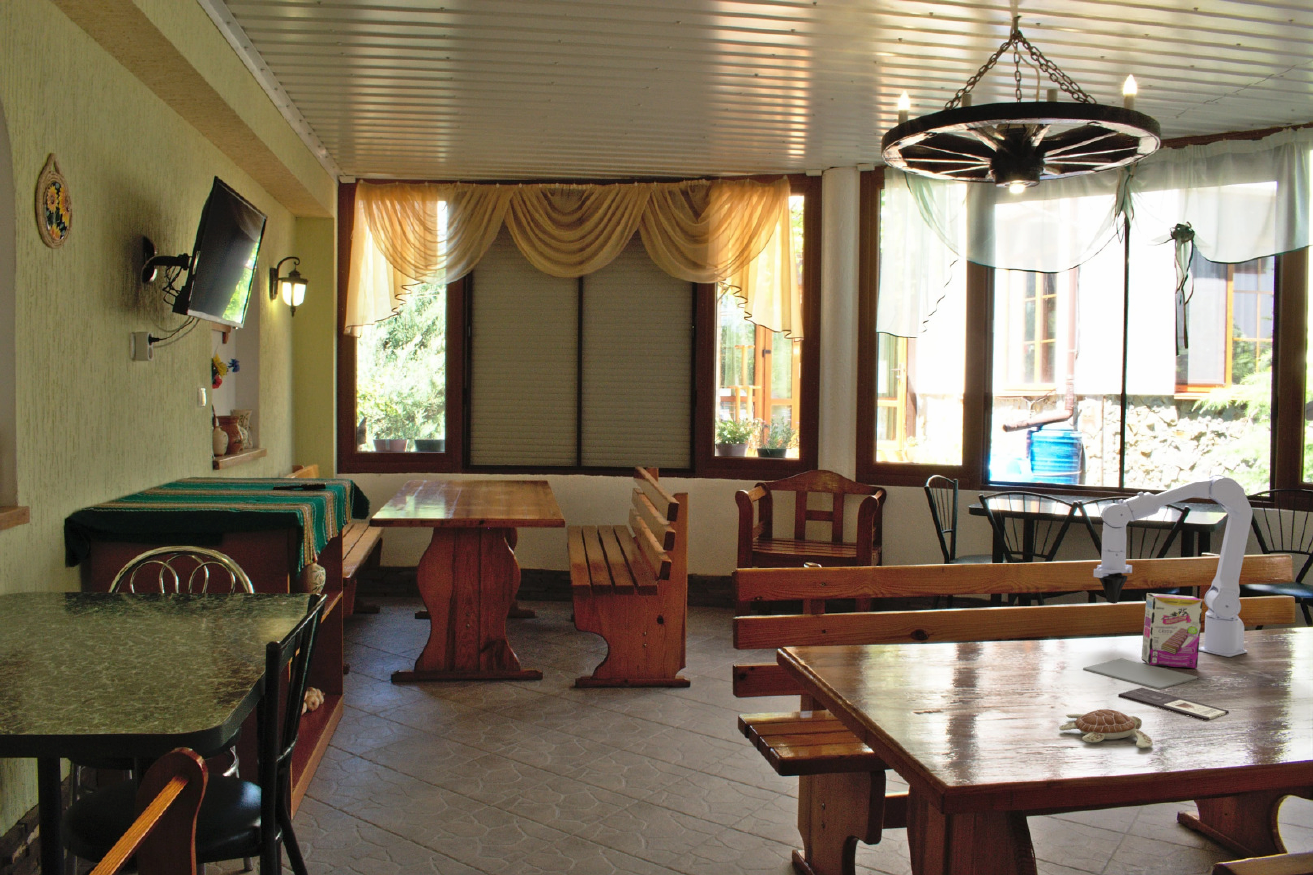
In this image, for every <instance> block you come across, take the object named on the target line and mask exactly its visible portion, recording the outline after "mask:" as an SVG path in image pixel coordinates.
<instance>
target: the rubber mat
mask: <svg viewBox="0 0 1313 875" xmlns="http://www.w3.org/2000/svg"><path fill="white" fill-rule="evenodd" d="M1082 670H1083V671H1087V672H1092V673H1096V674H1100V675H1103V676H1106V677H1110V678H1114V679H1118V680H1120V681H1121V680H1122V681H1126V682H1130V683H1134V684H1137V685H1141V686H1145V687H1149V688H1153V689H1156V690H1163V689H1166V688H1170V687H1173V685H1174V686H1177V685H1180V684H1183V682H1184V683H1186V682H1190V681H1194V680H1197V678H1198V676H1196V675H1191V674H1189V673H1184V672H1179V671H1176V670H1171V669H1167V668H1165V667H1163V668H1162V667H1161V666H1160V667H1159V666H1157V665H1149V664H1147V663H1142V662H1139V661H1135V660H1132V659H1127V658H1122V657H1121V658H1118V659H1112V660H1109V661H1105V662H1101V663H1098V664H1093V665H1089V666H1085V667H1082Z"/></svg>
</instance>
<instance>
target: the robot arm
mask: <svg viewBox="0 0 1313 875" xmlns="http://www.w3.org/2000/svg"><path fill="white" fill-rule="evenodd" d="M1245 492H1246V491H1245V489H1244V488H1243V487H1242V486H1241V485H1240V484H1239V483H1238V482H1237V481H1236V480H1235V479H1233V478H1230V477H1226V476H1225V475H1221V474H1214V475H1210V476H1209V477H1202V478H1197V479H1195V480H1191V481H1189V482H1186V483H1184V484H1180V485H1179V486H1175V487H1173V488H1170V489H1167V490H1164V491H1162V492H1160V493H1157V494H1153V493H1151V492H1149V491H1147V492H1143V491H1140V492H1137V495H1135V496H1133V497H1130V498H1126V499H1122V498H1121V499H1118V503H1112V502H1111V503H1109V504H1107V505H1105V506H1104V507H1103V508H1102V511H1101V513H1100V517H1101V519H1102V521H1103V524H1102V531H1101V561H1100V563H1101V564H1097V565H1096V568H1093V578H1098V580H1099V581H1100V583H1101V585H1102V588H1103V591H1104V595H1105V600H1106V603H1108V604H1109V603H1110V604H1115V605H1116V604H1118V602H1119V598H1120V595H1121V592H1122V589H1123V587H1124V585H1125V584H1126V582H1127V581H1128V575H1124V574H1132V573H1133V565H1132V564H1126V563H1127V561H1126V560H1127V538H1128V537H1127V525H1128V523H1129V522H1135V521H1138V520H1141V519H1144V518H1147V517H1150V516H1153V515H1156V514H1158V513H1159V511H1160V508H1161V507H1164V506H1167V505H1171V504H1175V503H1177V502H1181V501H1185V500H1188V499H1191V498H1199V499H1200V498H1201V499H1207V500H1210V499H1211V500H1212V501H1215V502H1216V503H1217V504H1218V505H1220V507H1221V508H1222V510H1224V512H1225V513H1226V514H1227V516H1228V517H1227V521H1226V526H1225V531H1224V535H1223V540H1222V545H1221V549H1220V554H1219V559H1218V563H1217V568H1216V574H1215V576H1214V578H1213V579H1212V581H1211V586H1210V588H1209V589H1208V590H1207V591H1206V593H1205V595H1204V603H1205V605H1206V607H1207V608H1208V609H1207V611H1206V612H1205V618H1204V641H1203V646H1199V651H1200V652H1203V653H1209V654H1214V655H1217V656H1222V657H1228V658H1231V657H1235V656H1238V655H1242V654H1245V653H1248V650H1247V649H1244V647H1245V646H1244V642H1245V641H1244V640H1245V625H1244V622H1243V621H1242V619H1241V618H1240V617H1239V614H1240V612H1241V609H1242V604H1241V601H1240V593H1241V589H1240V585H1239V584H1240V583H1239V581H1240V576H1241V572H1242V567H1243V563H1244V558H1245V553H1246V547H1247V544H1248V539H1249V534H1250V529H1251V523H1252V520H1253V514H1254V513H1253V512H1254V511H1253V508H1252V507H1251V503H1250V502H1249V499H1248V497H1247V496H1246V493H1245ZM1199 651H1198V652H1199Z"/></svg>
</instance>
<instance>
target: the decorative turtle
mask: <svg viewBox="0 0 1313 875" xmlns="http://www.w3.org/2000/svg"><path fill="white" fill-rule="evenodd" d="M1065 716H1066V718H1069V719H1075V720H1074V722H1071V723H1066V724H1062V725H1060V726H1059V727H1058V729H1059V730H1060V731H1069V730H1079V731H1080V732H1081V734H1082V735H1084V736H1082V740H1083V741H1085V742H1087V743H1100V742H1101V741H1103V740H1119V739H1123V738H1128V737H1131V736H1132V735H1133V736H1135V738H1136V739H1137V741H1136V744H1135V745H1136V747H1137V748H1140V749H1144V748H1150V747H1152V746H1153V745H1154V742H1153V740H1152V738H1151V737H1150V736H1148V734H1146V733H1144V732H1143V731H1141V730H1140V729H1141V727H1142V724H1143V723H1142V722H1143V721H1142V719H1141V718H1139V717H1137V716H1134V715H1130V716H1129V715H1128V714H1127V715H1126V714H1124V712H1123V713H1122V712H1121V711H1118V710H1113V709H1108V708H1107V709H1096V710H1092V711H1089V712H1088V713H1085V714H1084V713H1074V714H1073V713H1072V714H1071V713H1069V714H1065Z"/></svg>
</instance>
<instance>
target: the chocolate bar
mask: <svg viewBox="0 0 1313 875" xmlns="http://www.w3.org/2000/svg"><path fill="white" fill-rule="evenodd" d="M1117 697H1119V698H1122V699H1126V700H1130V701H1133V702H1137V703H1140V704H1144V705H1146V706H1150V707H1151V706H1152V707H1154V706H1155V707H1154V708H1157V707H1159V708H1158V709H1161V708H1162V710H1164V711H1168V710H1170V711H1169V712H1172V711H1173V712H1172V713H1175V712H1176V713H1177V714H1180V715H1182V716H1186V715H1189V716H1188V717H1190V716H1192V717H1191V718H1193V717H1194V719H1197V720H1200V719H1203V720H1202V721H1204V720H1207V721H1209V719H1210V720H1213V719H1215V718H1219V717H1221V715H1222V716H1224V715H1227V713H1228V714H1229V710H1228V709H1223V708H1220V707H1216V706H1212V705H1210V704H1209V705H1208V704H1205V703H1201V702H1197V701H1195V700H1194V701H1193V700H1190V699H1188V698H1187V699H1186V698H1182V697H1179V696H1175V695H1171V694H1168V693H1164V692H1160V691H1156V690H1152V689H1148V688H1146V687H1139V688H1135V689H1131V690H1128V691H1124V692H1121V693H1118V696H1117ZM1176 713H1175V714H1176ZM1218 716H1219V717H1218Z"/></svg>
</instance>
